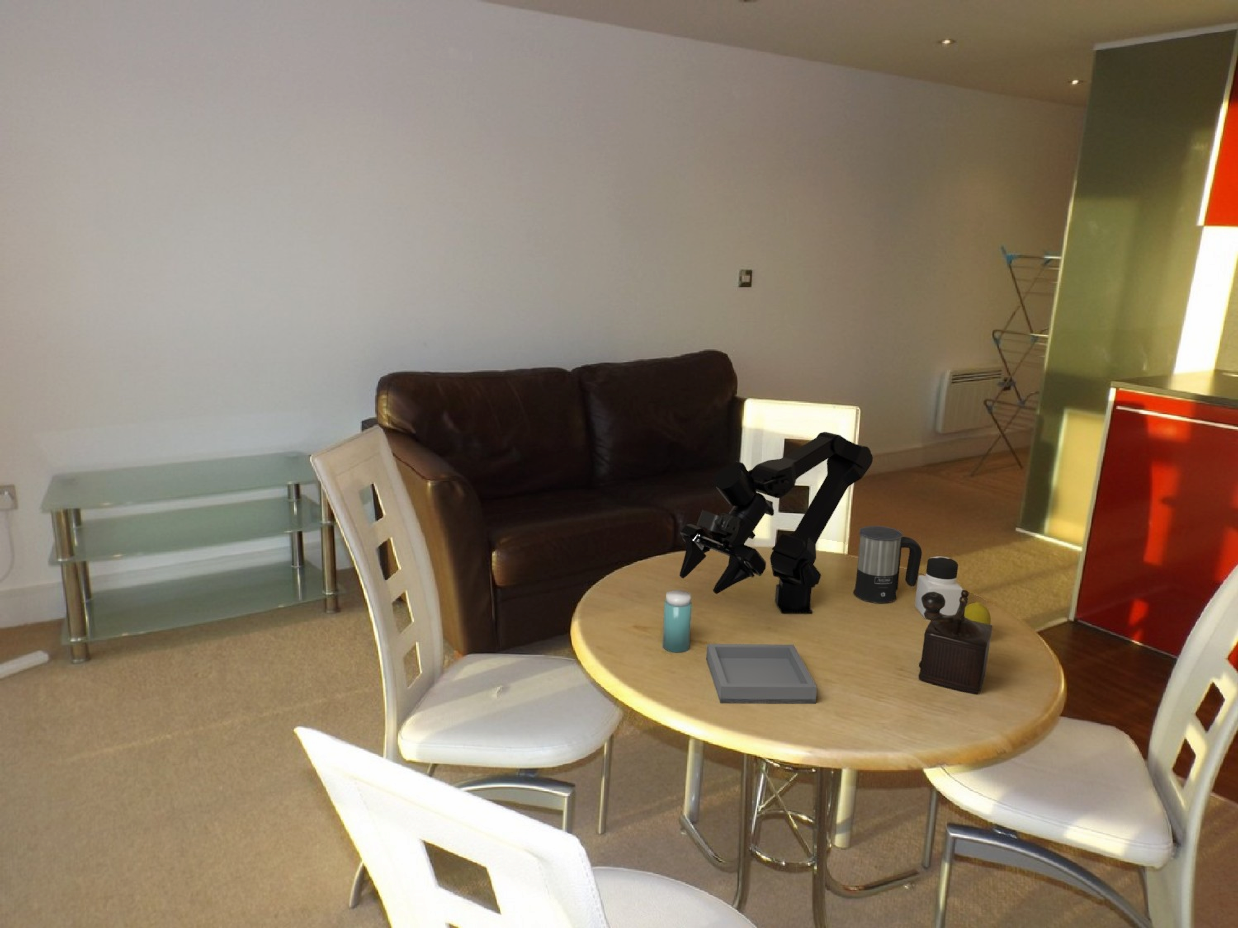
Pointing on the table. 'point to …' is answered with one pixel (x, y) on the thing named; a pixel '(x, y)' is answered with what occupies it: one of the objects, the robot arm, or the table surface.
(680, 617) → the ball
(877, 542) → the milk frother
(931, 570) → the medicine bottle
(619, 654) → the table surface
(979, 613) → the lemon
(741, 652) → the tray
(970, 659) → the manual coffee grinder
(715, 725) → the table surface
